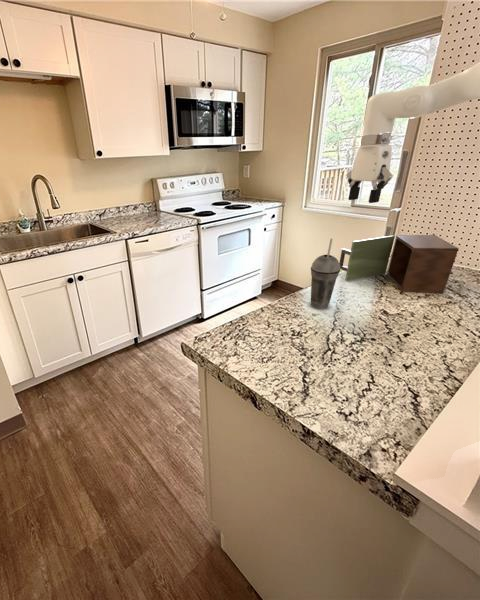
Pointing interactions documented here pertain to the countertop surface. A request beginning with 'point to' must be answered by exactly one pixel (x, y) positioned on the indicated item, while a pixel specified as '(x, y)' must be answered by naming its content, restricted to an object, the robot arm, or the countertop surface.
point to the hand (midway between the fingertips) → (362, 200)
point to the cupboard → (421, 263)
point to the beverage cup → (323, 279)
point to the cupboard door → (367, 257)
